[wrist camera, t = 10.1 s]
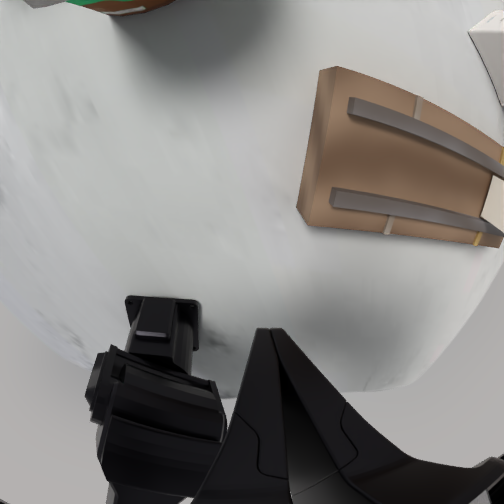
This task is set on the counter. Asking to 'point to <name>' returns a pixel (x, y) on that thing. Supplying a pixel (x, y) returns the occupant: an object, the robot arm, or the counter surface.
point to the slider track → (395, 164)
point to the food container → (108, 5)
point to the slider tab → (495, 204)
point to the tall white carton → (492, 47)
